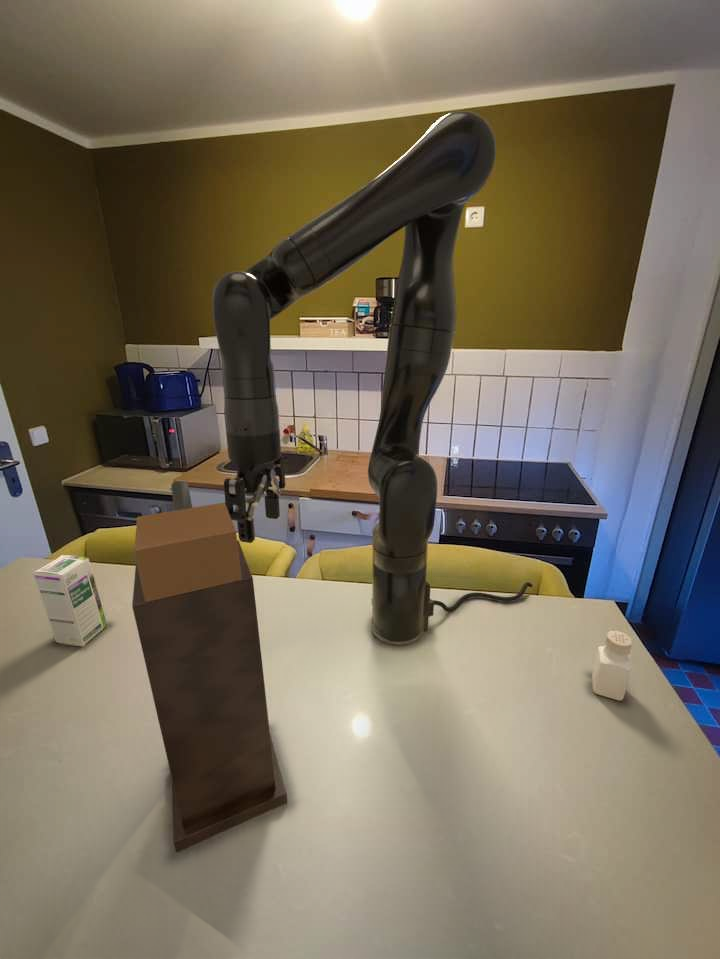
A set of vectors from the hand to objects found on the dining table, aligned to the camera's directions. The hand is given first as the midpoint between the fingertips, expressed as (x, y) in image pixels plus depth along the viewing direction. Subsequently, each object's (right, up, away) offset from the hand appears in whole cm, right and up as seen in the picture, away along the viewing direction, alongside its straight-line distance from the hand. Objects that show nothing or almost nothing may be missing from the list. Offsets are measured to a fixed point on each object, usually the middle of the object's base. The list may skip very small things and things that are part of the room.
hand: (260, 528), depth 67 cm
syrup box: (-34, -20, +9) cm, 41 cm away
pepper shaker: (+53, -24, -3) cm, 58 cm away
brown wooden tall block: (0, -29, -16) cm, 33 cm away
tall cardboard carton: (-4, +2, -19) cm, 20 cm away
